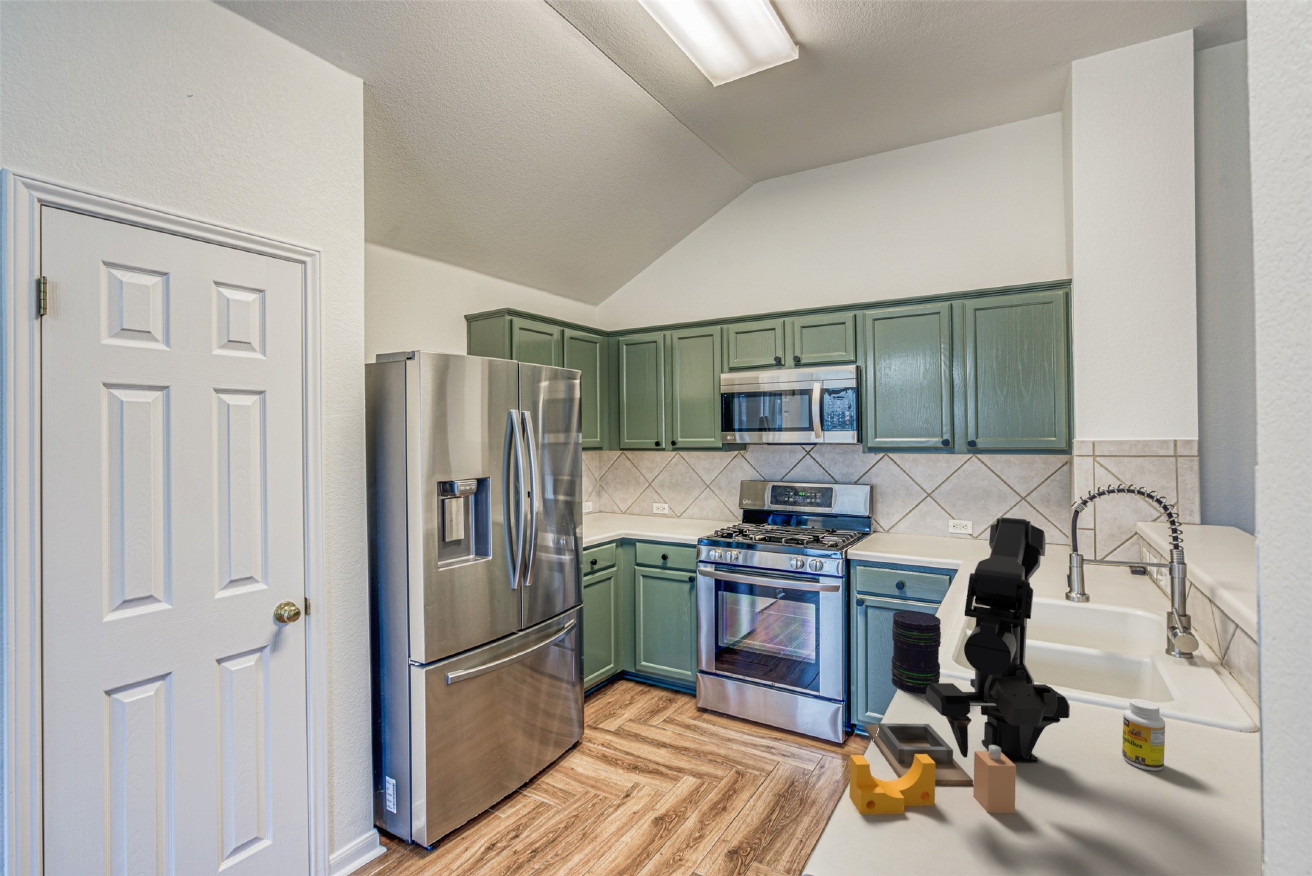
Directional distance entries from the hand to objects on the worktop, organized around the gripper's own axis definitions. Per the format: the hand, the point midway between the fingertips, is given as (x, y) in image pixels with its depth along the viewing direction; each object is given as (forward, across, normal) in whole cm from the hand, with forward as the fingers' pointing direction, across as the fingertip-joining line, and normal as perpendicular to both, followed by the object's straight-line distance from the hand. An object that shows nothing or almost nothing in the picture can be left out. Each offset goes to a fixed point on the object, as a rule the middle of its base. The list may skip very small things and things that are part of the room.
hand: (994, 756), depth 92 cm
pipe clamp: (+8, -15, 0) cm, 17 cm away
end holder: (+7, -6, +14) cm, 17 cm away
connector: (+7, 0, 0) cm, 7 cm away
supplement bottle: (+8, +32, +12) cm, 35 cm away
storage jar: (+8, +6, +43) cm, 44 cm away
